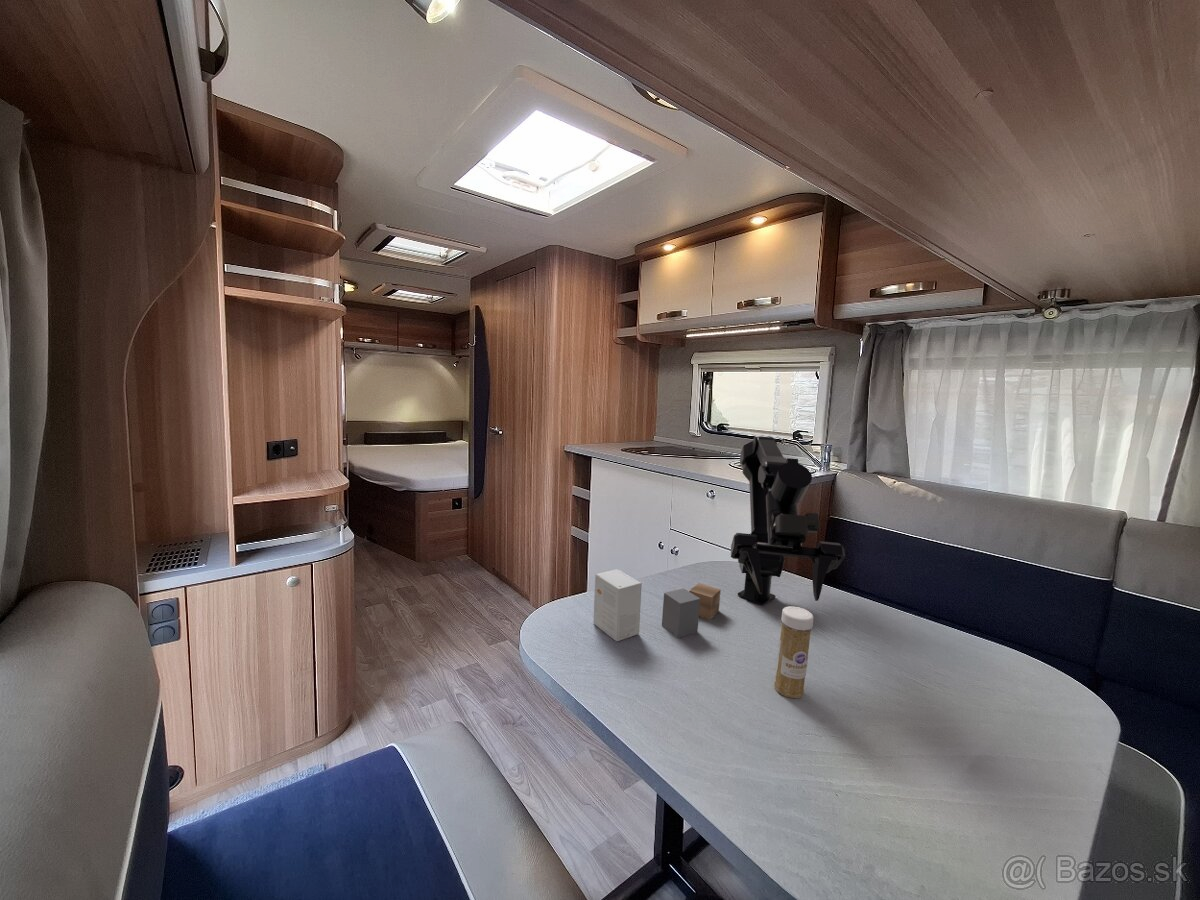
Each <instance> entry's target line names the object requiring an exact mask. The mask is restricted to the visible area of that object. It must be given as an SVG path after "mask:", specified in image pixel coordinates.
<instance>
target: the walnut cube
mask: <svg viewBox="0 0 1200 900" xmlns="http://www.w3.org/2000/svg"><path fill="white" fill-rule="evenodd" d="M721 590H722V589H720V588H718V587H714V586H710V585H707V584H704V583H700V582H699V583H697V584H696V585H694V586H693V587H692V588H691V589H689V590H688V591H689V592H690V593H692V594H694V595H695V596H697V597H698V598H700V609H699V618H700V617H701V618H703V619H707V620H709V621H710V620H711V619H712V618H713V617H714V616H716V615H717V614H718V612H719V611H720V610H719V609H720V601H721Z"/></svg>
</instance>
